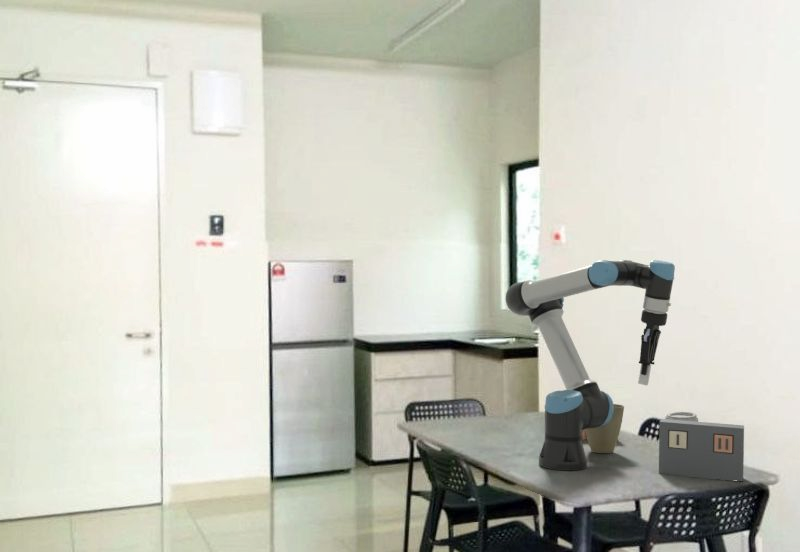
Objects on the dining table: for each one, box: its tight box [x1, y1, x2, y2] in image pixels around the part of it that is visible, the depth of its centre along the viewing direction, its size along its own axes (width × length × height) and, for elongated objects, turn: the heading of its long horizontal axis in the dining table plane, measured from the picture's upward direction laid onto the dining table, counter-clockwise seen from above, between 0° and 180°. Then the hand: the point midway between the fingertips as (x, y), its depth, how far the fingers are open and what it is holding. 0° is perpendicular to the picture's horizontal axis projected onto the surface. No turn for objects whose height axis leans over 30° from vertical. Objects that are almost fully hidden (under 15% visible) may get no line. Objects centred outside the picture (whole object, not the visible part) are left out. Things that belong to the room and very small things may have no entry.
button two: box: [714, 434, 733, 453], centre depth 249 cm, size 3×5×5 cm, turn 65°
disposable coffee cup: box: [664, 411, 699, 422], centre depth 278 cm, size 11×11×15 cm
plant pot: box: [584, 403, 625, 454], centre depth 286 cm, size 15×15×16 cm
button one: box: [669, 430, 687, 449], centre depth 254 cm, size 3×5×5 cm, turn 66°
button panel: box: [658, 418, 745, 482], centre depth 253 cm, size 6×24×16 cm, turn 66°
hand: (643, 383), depth 259 cm, fingers closed
